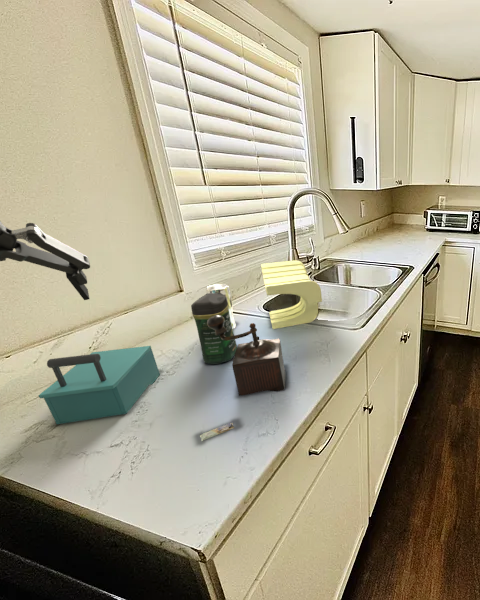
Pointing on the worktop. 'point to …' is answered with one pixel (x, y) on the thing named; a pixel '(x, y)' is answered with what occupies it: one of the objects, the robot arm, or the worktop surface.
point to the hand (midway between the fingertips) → (37, 306)
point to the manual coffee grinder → (254, 360)
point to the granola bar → (216, 431)
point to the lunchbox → (106, 396)
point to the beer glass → (226, 291)
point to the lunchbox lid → (93, 371)
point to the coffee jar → (211, 343)
